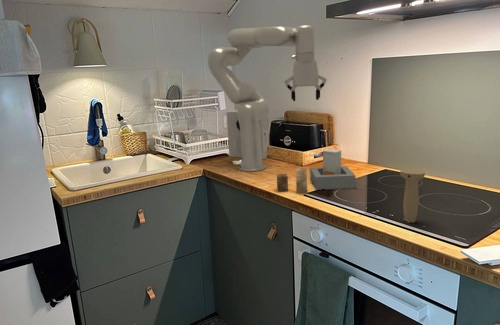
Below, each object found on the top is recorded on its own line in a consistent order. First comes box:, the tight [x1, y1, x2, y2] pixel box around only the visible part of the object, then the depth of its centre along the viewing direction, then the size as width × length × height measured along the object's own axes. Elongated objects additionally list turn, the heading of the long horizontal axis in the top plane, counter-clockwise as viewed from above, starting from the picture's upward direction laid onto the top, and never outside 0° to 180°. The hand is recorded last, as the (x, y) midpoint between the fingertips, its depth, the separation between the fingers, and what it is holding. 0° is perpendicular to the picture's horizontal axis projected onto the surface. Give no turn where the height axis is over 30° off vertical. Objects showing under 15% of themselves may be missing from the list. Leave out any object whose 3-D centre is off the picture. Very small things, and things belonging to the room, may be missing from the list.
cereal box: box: [226, 109, 270, 160], centre depth 205 cm, size 22×8×25 cm, turn 60°
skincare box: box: [322, 148, 342, 175], centre depth 150 cm, size 6×4×12 cm
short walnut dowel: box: [276, 173, 289, 193], centre depth 145 cm, size 4×4×6 cm
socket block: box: [309, 165, 356, 191], centre depth 151 cm, size 15×15×5 cm
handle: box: [399, 168, 426, 223], centre depth 109 cm, size 5×6×15 cm
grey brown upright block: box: [295, 167, 308, 195], centre depth 141 cm, size 4×4×9 cm
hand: (305, 100), depth 158 cm, fingers open, 9 cm apart
